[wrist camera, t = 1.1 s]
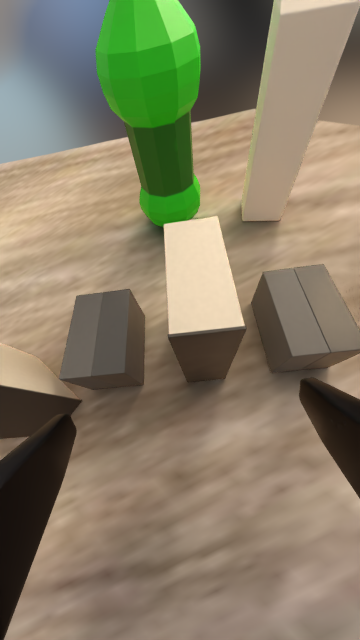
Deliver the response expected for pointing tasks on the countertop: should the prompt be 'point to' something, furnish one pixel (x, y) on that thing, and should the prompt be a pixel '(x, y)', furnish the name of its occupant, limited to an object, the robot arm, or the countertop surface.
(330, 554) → the countertop surface
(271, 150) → the milk
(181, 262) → the cream rectangular block
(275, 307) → the grey books
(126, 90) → the plastic bottle
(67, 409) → the white books
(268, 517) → the countertop surface
